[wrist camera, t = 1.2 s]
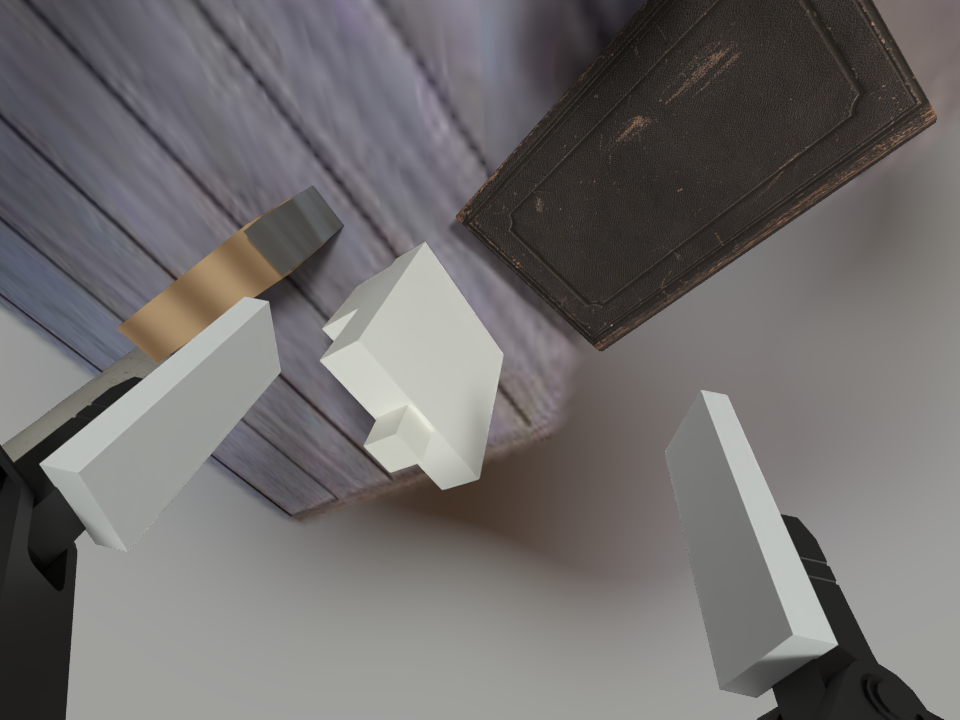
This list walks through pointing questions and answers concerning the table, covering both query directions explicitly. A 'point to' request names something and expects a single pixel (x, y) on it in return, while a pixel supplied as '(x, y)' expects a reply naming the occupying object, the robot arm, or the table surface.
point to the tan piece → (233, 273)
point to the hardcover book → (693, 150)
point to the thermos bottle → (81, 400)
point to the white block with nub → (418, 368)
